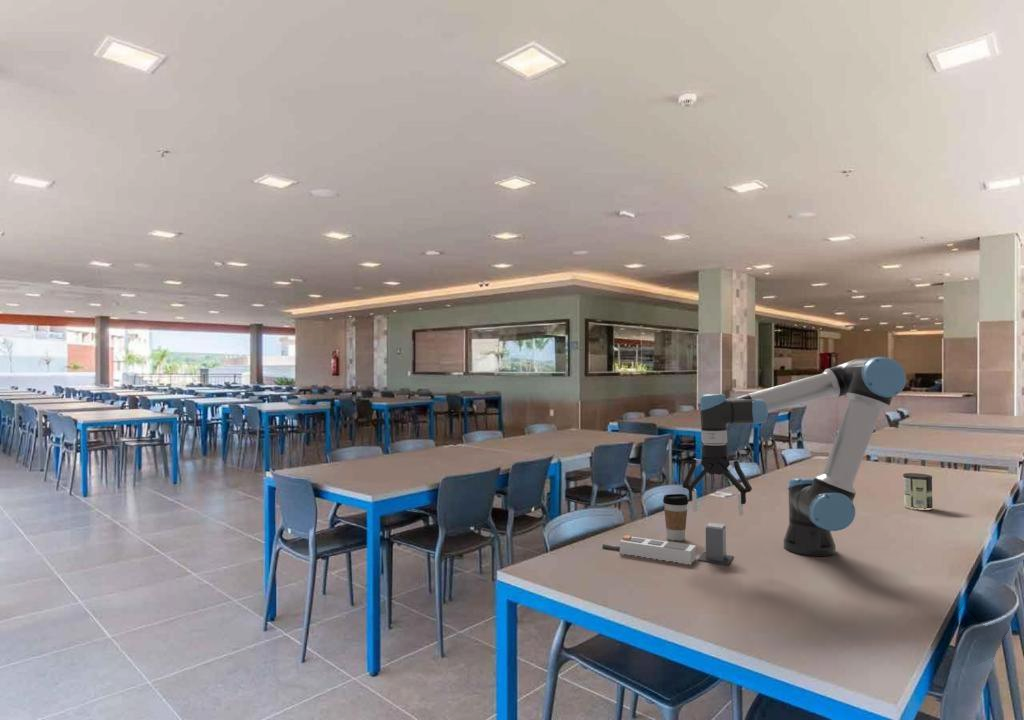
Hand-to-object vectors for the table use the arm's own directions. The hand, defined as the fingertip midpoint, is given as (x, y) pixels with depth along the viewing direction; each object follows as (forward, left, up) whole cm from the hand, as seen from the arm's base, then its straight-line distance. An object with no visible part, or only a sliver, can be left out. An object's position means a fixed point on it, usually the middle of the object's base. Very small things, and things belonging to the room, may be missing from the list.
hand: (717, 512), depth 182 cm
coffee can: (-61, -114, -14) cm, 130 cm away
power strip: (+21, +6, -14) cm, 26 cm away
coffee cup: (+17, -17, -14) cm, 28 cm away
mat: (+1, 0, -14) cm, 14 cm away
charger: (+1, 0, -14) cm, 14 cm away
